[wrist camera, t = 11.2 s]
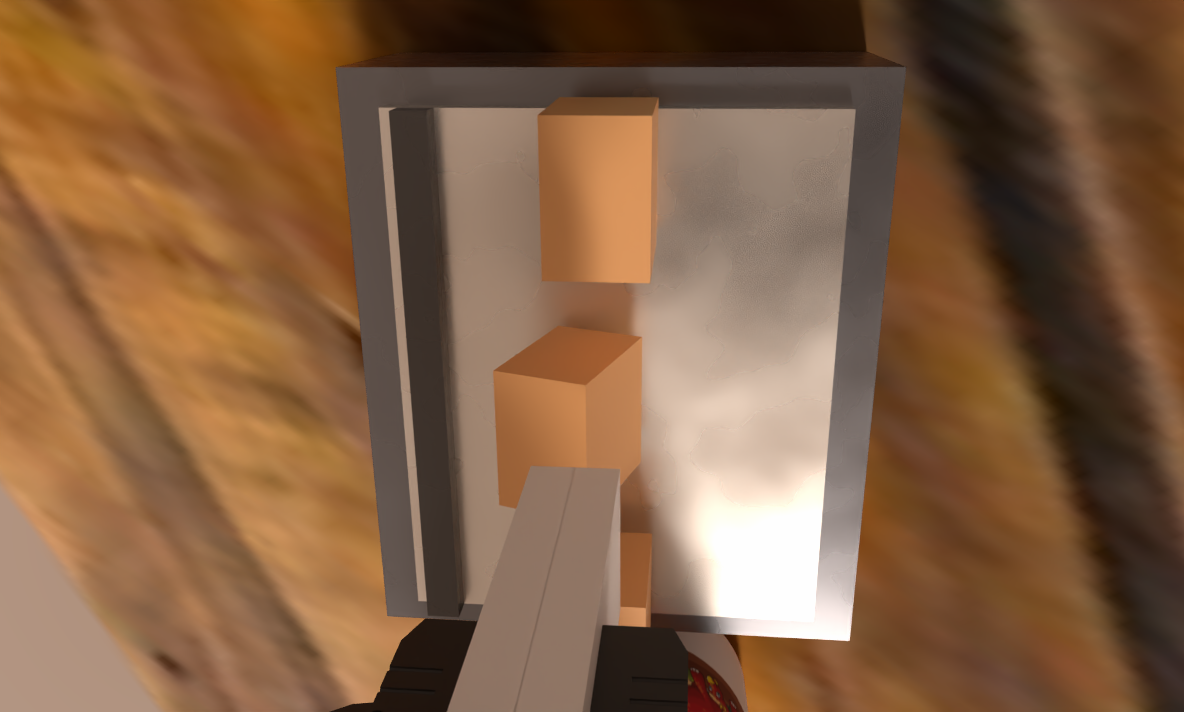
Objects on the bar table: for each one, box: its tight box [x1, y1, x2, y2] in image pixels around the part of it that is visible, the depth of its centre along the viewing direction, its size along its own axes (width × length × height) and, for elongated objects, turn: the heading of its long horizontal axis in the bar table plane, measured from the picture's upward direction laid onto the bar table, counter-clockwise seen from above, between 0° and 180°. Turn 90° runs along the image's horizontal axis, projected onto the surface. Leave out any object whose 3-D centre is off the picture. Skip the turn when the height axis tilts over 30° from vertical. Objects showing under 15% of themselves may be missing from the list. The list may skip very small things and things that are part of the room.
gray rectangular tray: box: [336, 52, 906, 641], centre depth 25 cm, size 12×14×6 cm
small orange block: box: [493, 326, 642, 509], centre depth 21 cm, size 2×3×3 cm, turn 2°
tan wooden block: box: [618, 532, 652, 627], centre depth 23 cm, size 2×3×3 cm, turn 1°
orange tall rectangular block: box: [537, 97, 659, 283], centre depth 19 cm, size 2×3×3 cm, turn 1°
